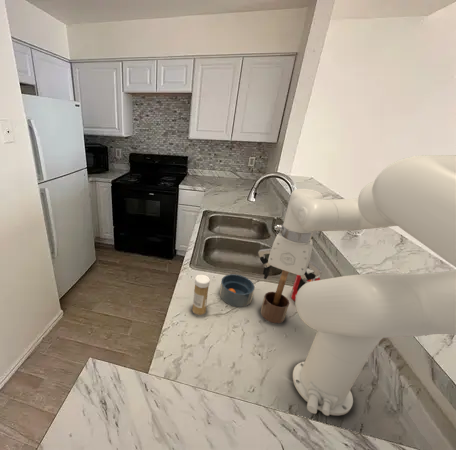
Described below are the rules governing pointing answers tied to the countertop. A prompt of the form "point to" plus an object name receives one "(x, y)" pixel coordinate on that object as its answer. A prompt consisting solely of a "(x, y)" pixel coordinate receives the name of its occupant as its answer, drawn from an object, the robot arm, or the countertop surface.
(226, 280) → the bowl
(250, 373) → the countertop surface
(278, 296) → the cooking stick
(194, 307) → the sprinkles bottle
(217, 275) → the countertop surface
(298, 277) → the soda can
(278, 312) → the pot
